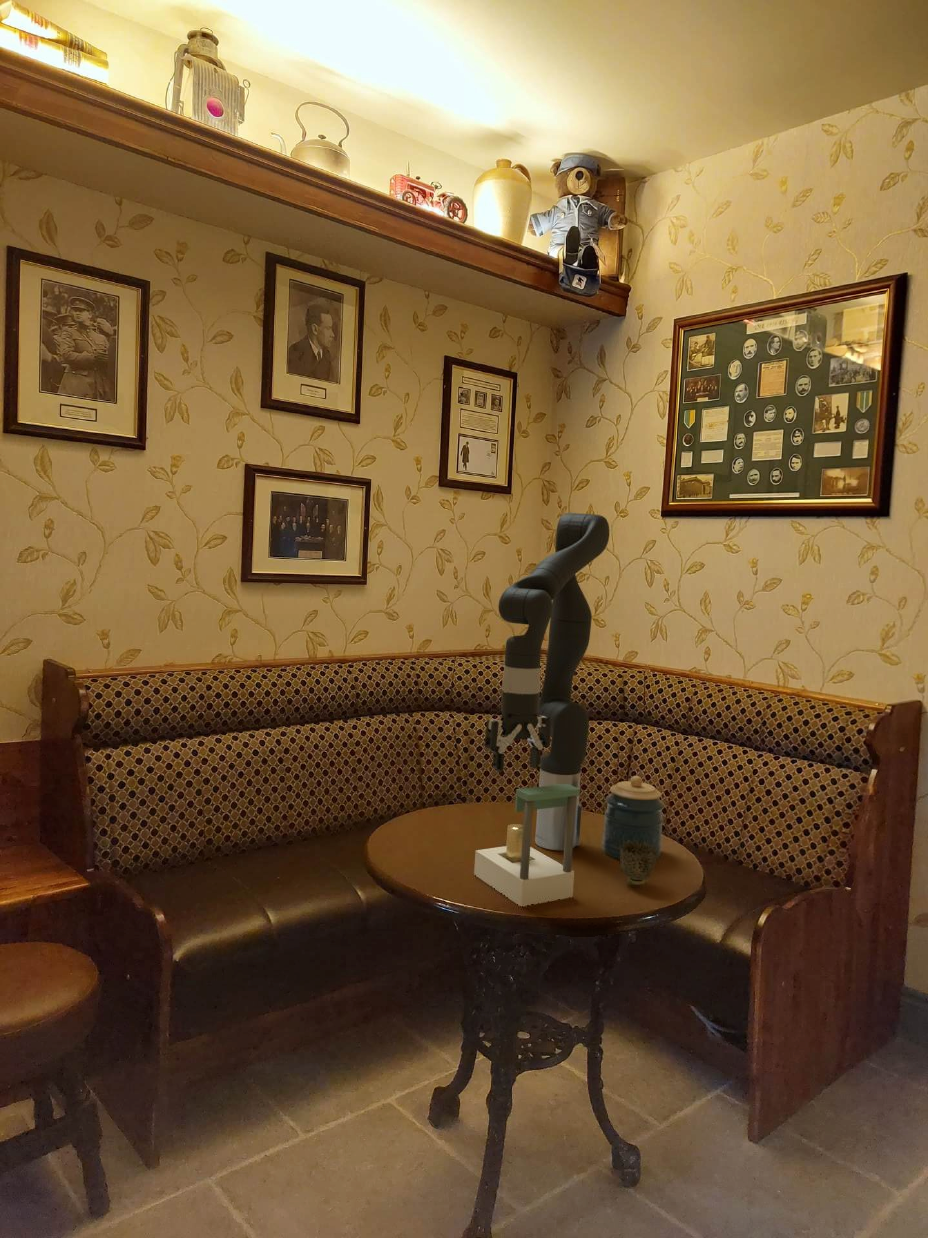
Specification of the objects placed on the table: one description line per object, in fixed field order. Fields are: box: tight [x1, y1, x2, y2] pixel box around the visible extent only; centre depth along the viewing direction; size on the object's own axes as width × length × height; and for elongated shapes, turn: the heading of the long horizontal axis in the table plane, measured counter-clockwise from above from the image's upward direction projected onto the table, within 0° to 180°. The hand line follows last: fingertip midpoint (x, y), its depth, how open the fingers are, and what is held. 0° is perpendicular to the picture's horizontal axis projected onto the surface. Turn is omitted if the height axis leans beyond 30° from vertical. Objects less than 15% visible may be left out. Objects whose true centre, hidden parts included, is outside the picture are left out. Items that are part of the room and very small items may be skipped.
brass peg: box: [505, 823, 523, 863], centre depth 168 cm, size 4×4×10 cm
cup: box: [619, 841, 657, 888], centre depth 170 cm, size 8×7×8 cm
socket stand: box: [473, 784, 581, 908], centre depth 166 cm, size 12×17×21 cm
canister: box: [601, 775, 665, 861], centre depth 188 cm, size 13×13×18 cm
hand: (516, 769), depth 168 cm, fingers open, 8 cm apart
